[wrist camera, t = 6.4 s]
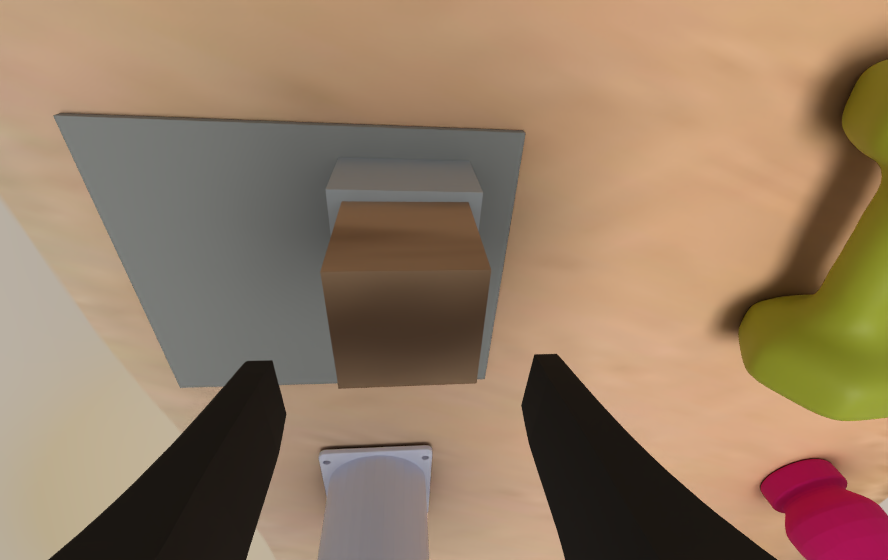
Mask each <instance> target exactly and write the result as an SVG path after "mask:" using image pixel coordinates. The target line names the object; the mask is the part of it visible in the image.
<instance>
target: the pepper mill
mask: <svg viewBox="0 0 888 560" xmlns="http://www.w3.org/2000/svg"><path fill="white" fill-rule="evenodd" d="M846 487H847V480H846V479H845V478H844V477H843V476H842V475H841V473H840V472H839V471H838V470H837V469H836V468H835V467H834V466H833V465H832V464H831V463H830V462H828V461H826V460H822V459H808V460H802V461H799V462H795V463H792V464H789V465H787V466H785V467H782V468H780V469H778V470H777V471H775V472H773V473H772V474H770V475H769V476H768V477H767V478H766V479H765V480H764V481H763V482H762V484H761V492H762V494H763V495H764V496H765V498H766V499H767V500H768V502H769V503H770V504H771V506H772V507H773V508H774V509H775V510H776V511H778V512H781V513H785V529H786V534H787V536H788V538H789V540H790V541H791V543H792V544H793V545H794V546H795V547H796V549H797V550H798V551H799V552H800V553H801V555H802V556H803V557H804V558H806V559H807V560H888V516H887V514H886V513H885V512H884V510H882V508H881V507H880V506H879V505H878V504H877V503H876V502H874V501H872V500H871V499H869V498H866V497H864V496H862V495H859V494H856V493H853V492H851V491H848V490H846Z"/></svg>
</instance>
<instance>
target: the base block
mask: <svg viewBox="0 0 888 560" xmlns="http://www.w3.org/2000/svg"><path fill="white" fill-rule="evenodd" d="M325 190H326V199H327V207H328V216H329V225H330V233H331V235H332V231H333V228H334V225H335V222H336V218H337V215H338V212H339V208H340V205H341V202H342V201H368V202H469V205H470V208H471V211H472V214H473V217H474V220H475V223H476V226H477V229H478V232H479V223H480V215H481V206H482V198H483V191H482V189H481V186H480V184H479V182H478V180H477V177H476V175H475V173H474V170H473V168H472V166H471V163H470V161H453V160H418V159H383V158H348V157H338V160H337V162H336V165H335V167H334V170H333V172H332V174H331V177H330V179H329V182H328V184H327V187H326V189H325Z"/></svg>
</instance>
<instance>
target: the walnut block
mask: <svg viewBox="0 0 888 560" xmlns="http://www.w3.org/2000/svg"><path fill="white" fill-rule="evenodd" d="M320 274H321V280H322V286H323V293H324V299H325V305H326V312H327V318H328V324H329V331H330V337H331V344H332V350H333V356H334V363H335V369H336V375H337V382H338V388H339V389H341V388H367V387H393V386H419V385H445V384H470V383H477V376H478V368H479V361H480V353H481V345H482V338H483V330H484V322H485V315H486V307H487V300H488V292H489V284H490V277H491V267H490V264H489V261H488V258H487V255H486V252H485V249H484V246H483V244H482V241H481V238H480V235H479V232H478V229H477V226H476V223H475V220H474V217H473V214H472V211H471V208H470V205H469V202H368V201H342V202H341V205H340V208H339V212H338V215H337V218H336V222H335V225H334V228H333V231H332V235H331V238H330V241H329V245H328V248H327V251H326V254H325V258H324V261H323V264H322V268H321V271H320Z"/></svg>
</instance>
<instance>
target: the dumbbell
mask: <svg viewBox="0 0 888 560" xmlns="http://www.w3.org/2000/svg"><path fill="white" fill-rule="evenodd" d="M842 127H843V130H844V132H845V134H846V136H847V137H848V139H849V140H850V141H851V142H852V143H853V144H854V146H855V147H856V148H857V149H858V150H860V151H861V152H862V153H863V154H865V155H866V156H868V157H870V158H871V159H873V160H875V161H876V162H877V163H878V164H879V166H880V168H881V173H882V179H881V184H880V186H879V188H878V191H877V192H876V194H875V196H874V197H873V199H872V201H871V202H870V204H869V205H868V207H867V208H866V210H865V212H864V213H863V215H862V217H861V218H860V220H859V222H858V224H857V226H856V227H855V229H854V231H853V233H852V234H851V236H850V238H849V240H848V241H847V243H846V245H845V246H844V248H843V250H842V252H841V253H840V255H839V257H838V258H837V260H836V261H835V263H834V265H833V266H832V268H831V269H830V271H829V273H828V275H827V277H826V279H825V280H824V282H823V284H822V286H821V288H820V289H819V290H818V291H817V293H815V294H809V295H792V296H784V297H777V298H772V299H768V300H764V301H760V302H758V303H756V304H754V305H753V306H751V307H750V309H749V310H748V311H747V313H746V314H745V316H744V318H743V320H742V322H741V324H740V327H739V332H738V335H739V344H740V350H741V355H742V359H743V363H744V365H745V368H746V370H747V371H748V373H749V374H750V375H751V376H753V377H754V378H755V379H756V380H757V381H758V382H760V383H761V384H763V385H764V386H766V387H768V388H770V389H771V390H773V391H775V392H776V393H778V394H780V395H782V396H784V397H786V398H787V399H789V400H791V401H793V402H795V403H796V404H798V405H800V406H802V407H804V408H806V409H808V410H810V411H812V412H814V413H816V414H818V415H821V416H824V417H827V418H830V419H834V420H840V421H859V420H870V419H879V418H887V417H888V59H887V60H884V61H881V62H878V63H876V64H875V65H873V66H871V67H869V68H868V69H867V70H866V71H865V72H864V73H863V74H862V75H861V76H860V78H859V79H858V81H857V82H856V84H855V86H854V88H853V90H852V92H851V95H850V97H849V99H848V101H847V103H846V106H845V108H844V111H843V115H842Z"/></svg>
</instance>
